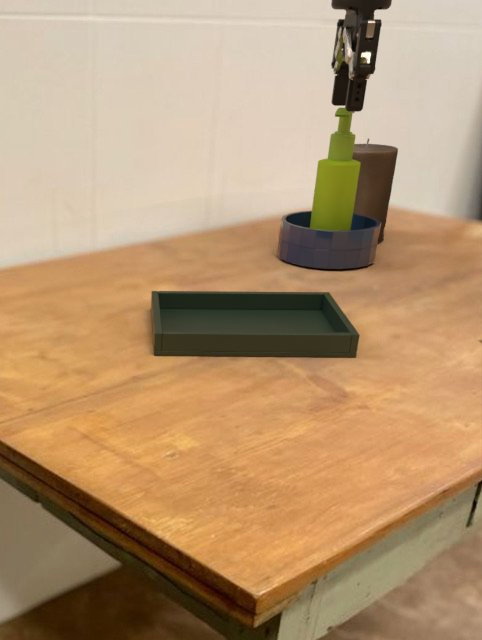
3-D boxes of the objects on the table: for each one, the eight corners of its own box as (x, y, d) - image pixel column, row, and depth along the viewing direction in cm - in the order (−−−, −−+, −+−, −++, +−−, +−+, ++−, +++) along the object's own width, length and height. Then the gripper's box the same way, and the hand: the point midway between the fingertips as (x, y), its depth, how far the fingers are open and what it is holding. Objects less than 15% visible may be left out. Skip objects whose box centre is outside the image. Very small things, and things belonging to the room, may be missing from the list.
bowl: (361, 247, 128) (367, 210, 125) (385, 271, 116) (392, 231, 113) (271, 246, 128) (274, 210, 125) (285, 270, 116) (290, 231, 113)
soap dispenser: (301, 259, 120) (320, 109, 110) (310, 249, 126) (329, 104, 115) (341, 263, 118) (364, 110, 108) (349, 253, 124) (371, 106, 113)
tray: (326, 312, 100) (329, 292, 99) (356, 357, 87) (359, 334, 86) (150, 310, 101) (151, 290, 99) (153, 355, 87) (154, 333, 86)
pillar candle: (395, 242, 131) (414, 140, 123) (347, 248, 128) (363, 144, 120) (356, 229, 139) (371, 133, 131) (309, 235, 135) (322, 136, 127)
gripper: (413, -38, 97) (387, 114, 105) (381, -32, 109) (360, 103, 117) (349, -38, 97) (329, 113, 106) (325, -32, 109) (308, 103, 118)
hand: (346, 108), depth 111 cm, fingers open, 8 cm apart
